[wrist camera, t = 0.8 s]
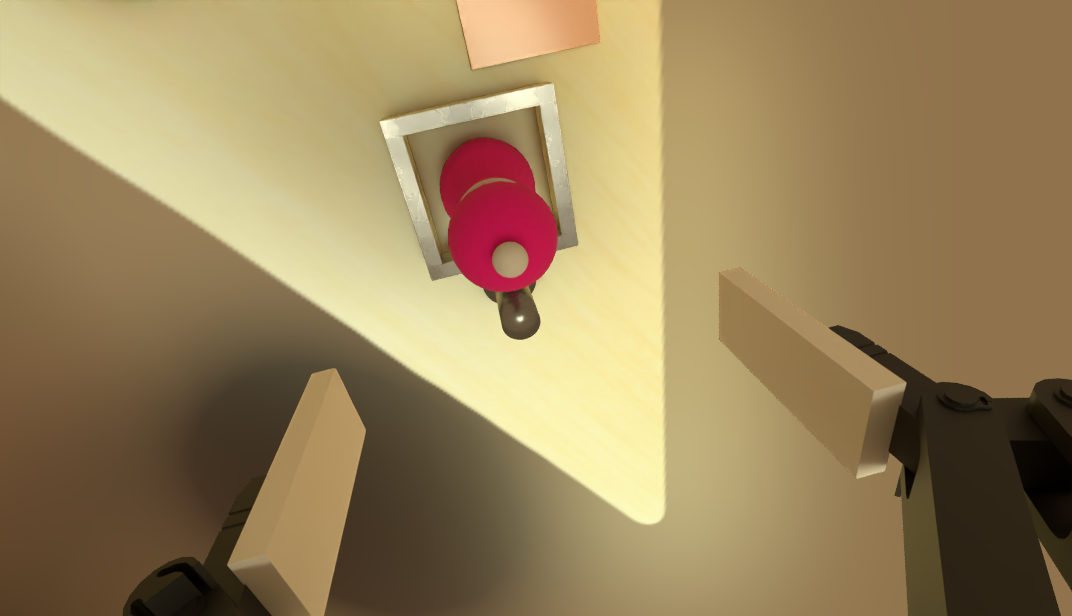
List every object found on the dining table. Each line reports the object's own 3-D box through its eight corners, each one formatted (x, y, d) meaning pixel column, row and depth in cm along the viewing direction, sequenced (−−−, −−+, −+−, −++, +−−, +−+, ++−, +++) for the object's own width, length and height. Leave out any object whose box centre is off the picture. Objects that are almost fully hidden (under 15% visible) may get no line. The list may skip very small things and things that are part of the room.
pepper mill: (527, 131, 39) (592, 188, 21) (525, 217, 42) (581, 328, 24) (437, 130, 38) (428, 191, 20) (443, 219, 41) (439, 337, 23)
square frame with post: (386, 115, 36) (369, 129, 29) (542, 80, 37) (567, 86, 29) (450, 315, 45) (451, 368, 37) (575, 284, 46) (602, 330, 38)
